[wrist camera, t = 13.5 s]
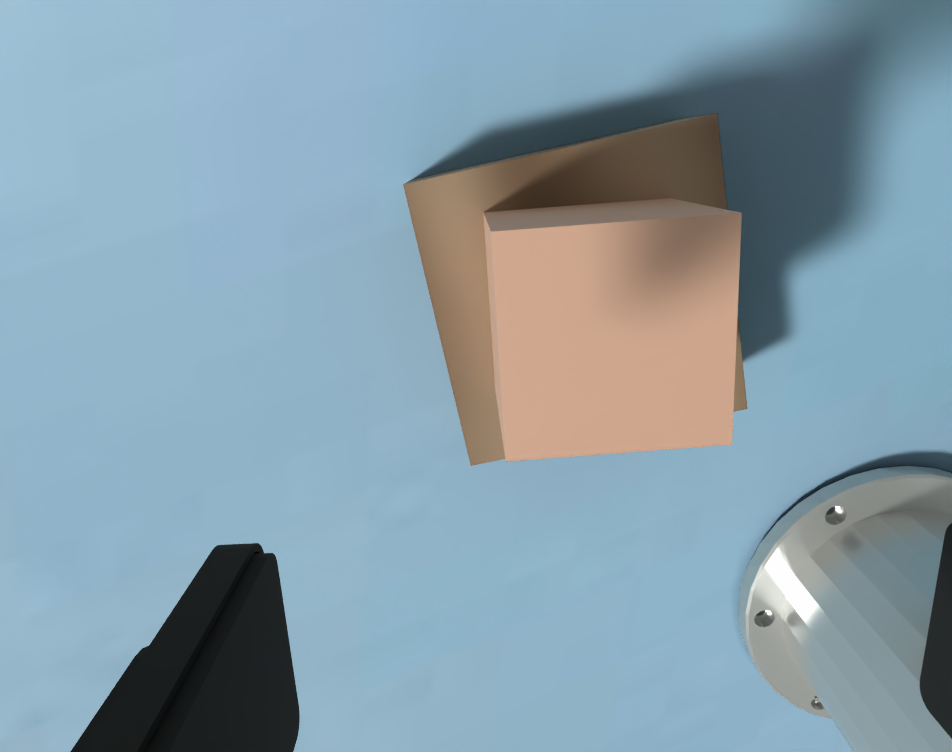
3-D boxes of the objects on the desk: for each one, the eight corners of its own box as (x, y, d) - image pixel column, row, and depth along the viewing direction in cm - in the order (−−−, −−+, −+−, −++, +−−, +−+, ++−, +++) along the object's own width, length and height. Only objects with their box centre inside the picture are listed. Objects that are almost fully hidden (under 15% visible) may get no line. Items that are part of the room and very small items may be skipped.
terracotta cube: (670, 198, 22) (741, 212, 17) (667, 376, 24) (732, 444, 18) (483, 212, 22) (491, 231, 17) (495, 388, 24) (505, 461, 18)
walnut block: (678, 118, 25) (717, 113, 22) (709, 374, 28) (747, 408, 25) (411, 179, 26) (403, 184, 22) (469, 424, 29) (470, 465, 25)
